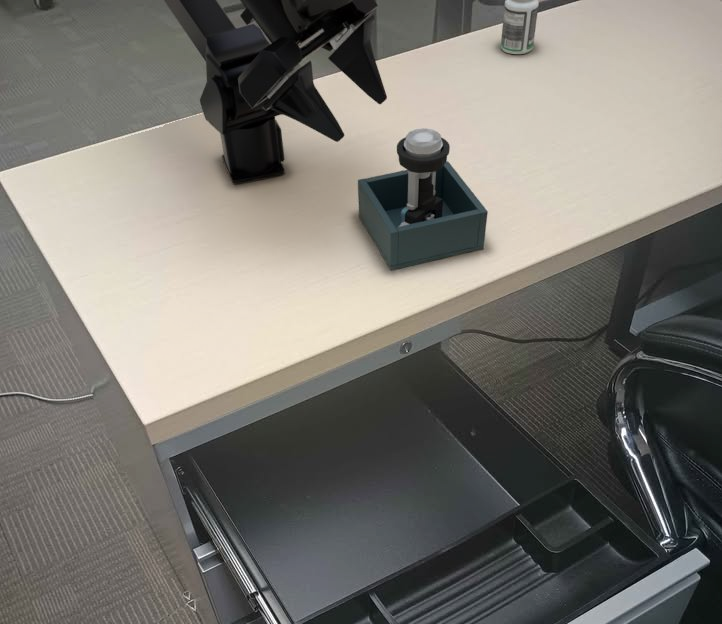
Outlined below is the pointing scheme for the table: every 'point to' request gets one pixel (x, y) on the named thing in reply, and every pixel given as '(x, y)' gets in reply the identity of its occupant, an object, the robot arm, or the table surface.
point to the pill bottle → (519, 26)
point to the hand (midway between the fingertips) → (363, 119)
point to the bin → (428, 238)
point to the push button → (422, 173)
